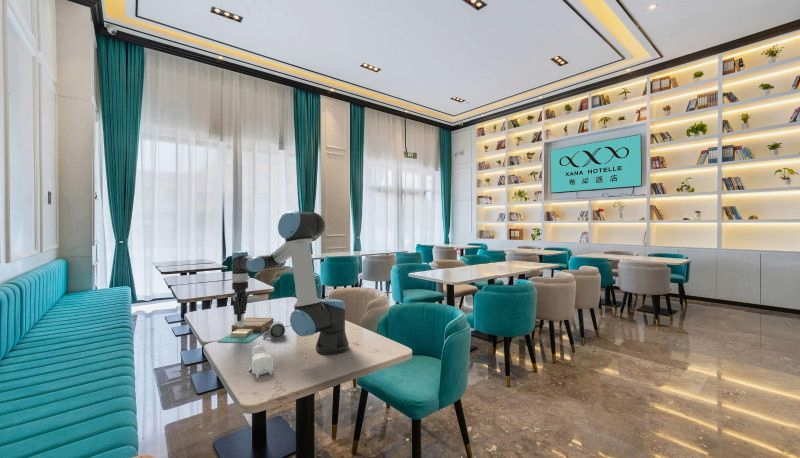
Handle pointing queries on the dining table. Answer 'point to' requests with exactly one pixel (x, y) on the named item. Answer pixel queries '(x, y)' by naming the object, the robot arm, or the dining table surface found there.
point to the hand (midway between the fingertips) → (240, 326)
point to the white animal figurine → (261, 361)
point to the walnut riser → (255, 324)
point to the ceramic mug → (275, 331)
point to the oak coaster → (241, 332)
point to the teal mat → (240, 338)
